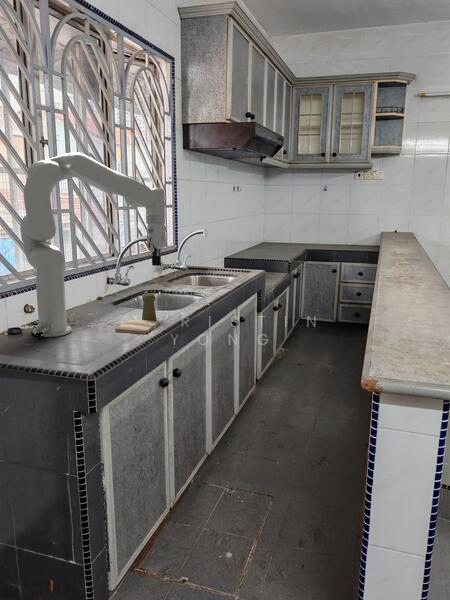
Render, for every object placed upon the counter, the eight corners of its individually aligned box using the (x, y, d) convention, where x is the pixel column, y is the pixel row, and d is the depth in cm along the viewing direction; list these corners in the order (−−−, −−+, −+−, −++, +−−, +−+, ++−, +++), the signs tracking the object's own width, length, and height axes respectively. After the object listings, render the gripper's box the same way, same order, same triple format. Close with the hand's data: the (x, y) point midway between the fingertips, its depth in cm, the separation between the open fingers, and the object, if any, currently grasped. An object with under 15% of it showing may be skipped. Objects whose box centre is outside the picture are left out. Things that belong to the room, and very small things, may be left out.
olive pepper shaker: (145, 318, 199) (145, 291, 196) (159, 319, 197) (158, 292, 195) (138, 321, 193) (138, 294, 191) (152, 323, 191) (152, 295, 189)
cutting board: (146, 334, 177) (146, 330, 176) (115, 331, 179) (115, 328, 179) (159, 324, 190) (159, 321, 190) (131, 322, 193) (131, 319, 192)
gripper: (157, 221, 187) (158, 268, 191) (170, 219, 202) (171, 263, 205) (139, 220, 189) (140, 267, 193) (153, 218, 203) (154, 262, 207)
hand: (156, 265), depth 199 cm, fingers closed
